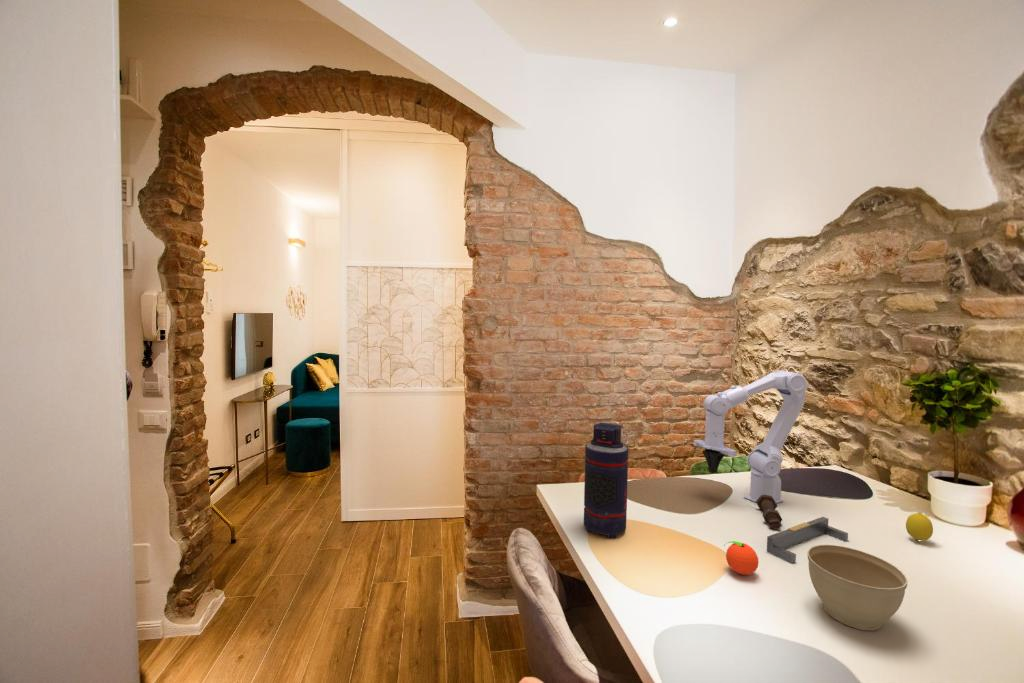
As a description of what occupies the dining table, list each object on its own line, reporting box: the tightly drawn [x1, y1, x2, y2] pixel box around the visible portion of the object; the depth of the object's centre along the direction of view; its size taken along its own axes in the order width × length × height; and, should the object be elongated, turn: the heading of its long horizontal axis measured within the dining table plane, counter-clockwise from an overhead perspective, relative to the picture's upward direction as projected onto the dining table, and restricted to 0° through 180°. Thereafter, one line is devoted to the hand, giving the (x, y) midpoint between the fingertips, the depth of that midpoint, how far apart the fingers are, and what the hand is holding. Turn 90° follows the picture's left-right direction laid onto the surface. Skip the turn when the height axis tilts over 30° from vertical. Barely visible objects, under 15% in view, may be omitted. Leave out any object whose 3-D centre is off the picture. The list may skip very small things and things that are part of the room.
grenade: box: [583, 421, 629, 539], centre depth 129 cm, size 14×12×30 cm
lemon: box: [905, 512, 934, 541], centre depth 124 cm, size 6×6×8 cm
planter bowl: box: [807, 544, 908, 631], centre depth 92 cm, size 16×16×11 cm
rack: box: [766, 516, 849, 564], centre depth 121 cm, size 26×6×4 cm, turn 118°
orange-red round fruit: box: [723, 540, 760, 576], centre depth 108 cm, size 8×7×7 cm
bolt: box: [755, 495, 783, 530], centre depth 136 cm, size 6×5×15 cm
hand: (713, 472), depth 150 cm, fingers closed
